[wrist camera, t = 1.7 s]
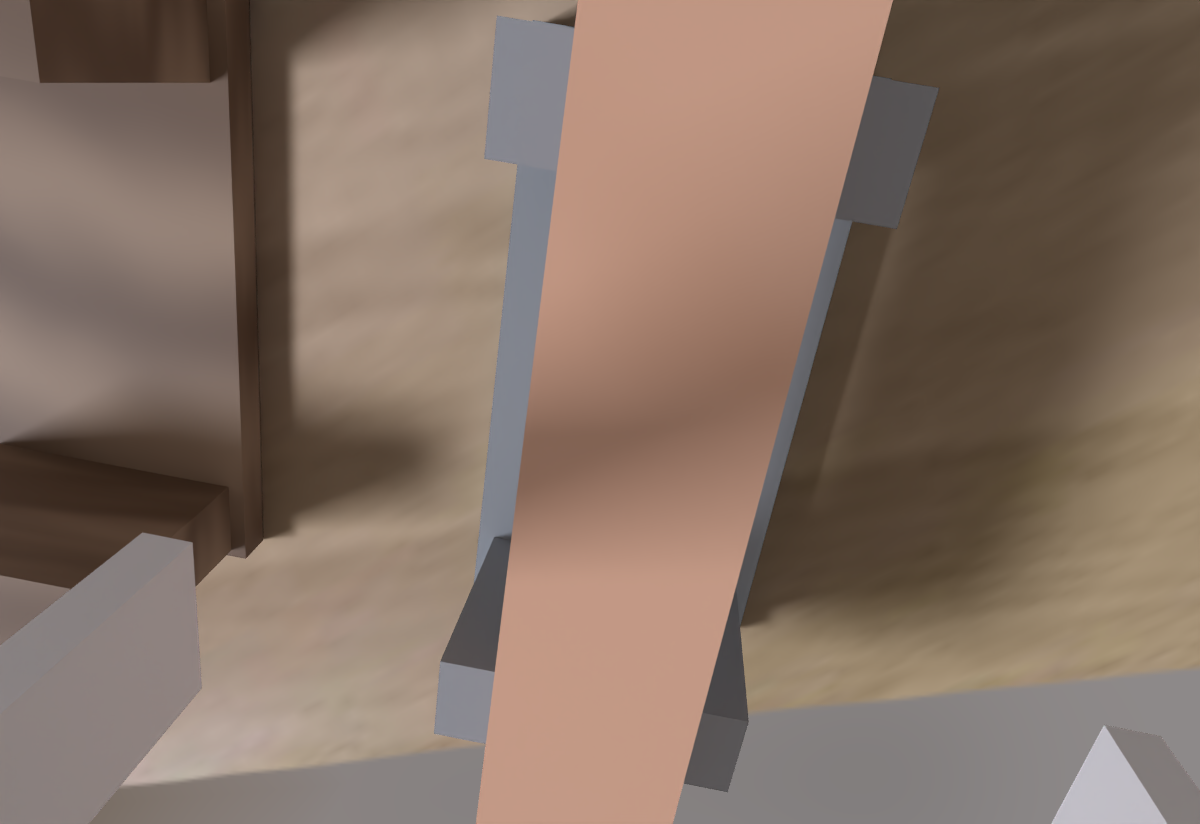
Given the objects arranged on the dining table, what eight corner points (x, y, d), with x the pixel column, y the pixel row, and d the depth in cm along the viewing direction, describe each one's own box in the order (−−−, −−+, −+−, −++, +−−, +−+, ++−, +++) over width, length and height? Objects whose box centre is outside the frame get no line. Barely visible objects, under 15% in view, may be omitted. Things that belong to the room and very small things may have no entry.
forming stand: (540, 23, 21) (470, -4, 14) (880, 78, 20) (972, 77, 14) (480, 581, 28) (415, 736, 21) (730, 629, 28) (743, 802, 21)
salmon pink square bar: (625, -114, 13) (600, -189, 10) (862, -77, 13) (930, -138, 9) (498, 806, 22) (459, 952, 18) (639, 835, 22) (628, 987, 18)
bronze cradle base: (-72, -77, 21) (-413, -149, 15) (248, -25, 21) (45, -74, 14) (24, 494, 28) (-177, 618, 22) (263, 540, 28) (132, 680, 22)
